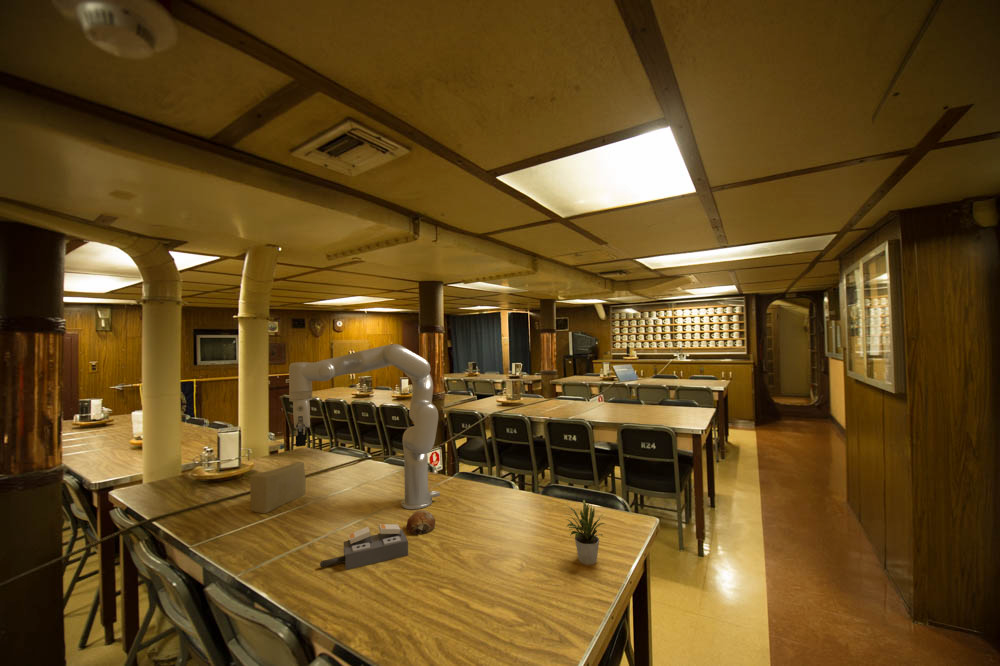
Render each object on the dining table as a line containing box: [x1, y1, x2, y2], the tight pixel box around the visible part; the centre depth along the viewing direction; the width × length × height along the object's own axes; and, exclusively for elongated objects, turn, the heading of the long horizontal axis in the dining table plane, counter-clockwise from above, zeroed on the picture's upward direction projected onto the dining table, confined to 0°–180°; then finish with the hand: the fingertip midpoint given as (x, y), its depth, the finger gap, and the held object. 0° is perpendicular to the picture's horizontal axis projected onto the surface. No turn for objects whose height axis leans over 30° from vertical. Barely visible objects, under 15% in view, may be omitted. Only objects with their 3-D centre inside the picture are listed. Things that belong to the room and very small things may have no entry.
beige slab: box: [249, 461, 307, 515], centre depth 171 cm, size 22×10×15 cm, turn 155°
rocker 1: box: [348, 526, 372, 544], centre depth 124 cm, size 6×4×2 cm, turn 115°
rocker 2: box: [378, 523, 401, 534], centre depth 128 cm, size 6×4×2 cm, turn 114°
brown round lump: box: [406, 509, 436, 535], centre depth 142 cm, size 10×10×8 cm
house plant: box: [562, 499, 606, 566], centre depth 119 cm, size 14×14×16 cm
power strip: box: [319, 528, 409, 571], centre depth 122 cm, size 25×9×5 cm, turn 115°
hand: (301, 443), depth 145 cm, fingers open, 9 cm apart
